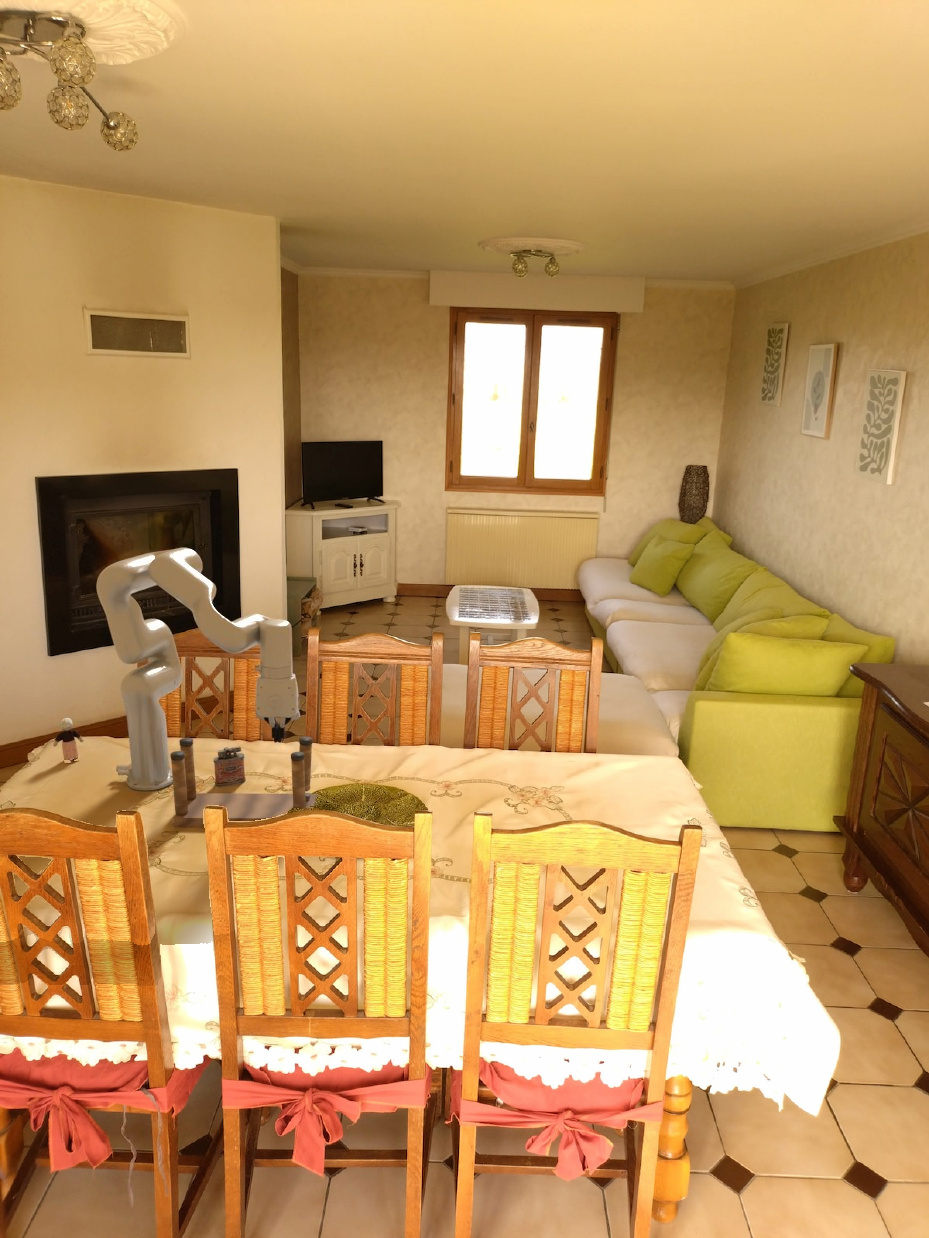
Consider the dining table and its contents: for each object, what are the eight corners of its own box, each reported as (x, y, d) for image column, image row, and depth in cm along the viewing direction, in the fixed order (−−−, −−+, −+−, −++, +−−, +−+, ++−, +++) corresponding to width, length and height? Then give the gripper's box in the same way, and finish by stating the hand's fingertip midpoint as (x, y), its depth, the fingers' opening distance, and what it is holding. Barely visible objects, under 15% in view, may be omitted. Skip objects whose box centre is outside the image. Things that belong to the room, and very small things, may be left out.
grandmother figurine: (81, 755, 265) (76, 713, 262) (86, 759, 263) (82, 717, 259) (53, 762, 260) (48, 719, 257) (58, 767, 258) (53, 724, 254)
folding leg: (298, 741, 231) (311, 742, 231) (300, 736, 234) (313, 737, 234) (296, 791, 235) (309, 792, 235) (298, 785, 238) (311, 786, 238)
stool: (173, 826, 227) (167, 758, 222) (187, 801, 239) (182, 736, 234) (310, 827, 228) (307, 758, 223) (316, 802, 240) (315, 736, 235)
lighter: (216, 788, 247) (214, 753, 244) (213, 783, 250) (211, 748, 247) (247, 782, 251) (245, 747, 248) (243, 777, 253) (241, 743, 251)
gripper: (242, 675, 224) (245, 746, 229) (305, 676, 224) (306, 747, 229) (248, 664, 231) (251, 733, 236) (309, 666, 231) (310, 735, 237)
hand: (278, 740), depth 233 cm, fingers closed
